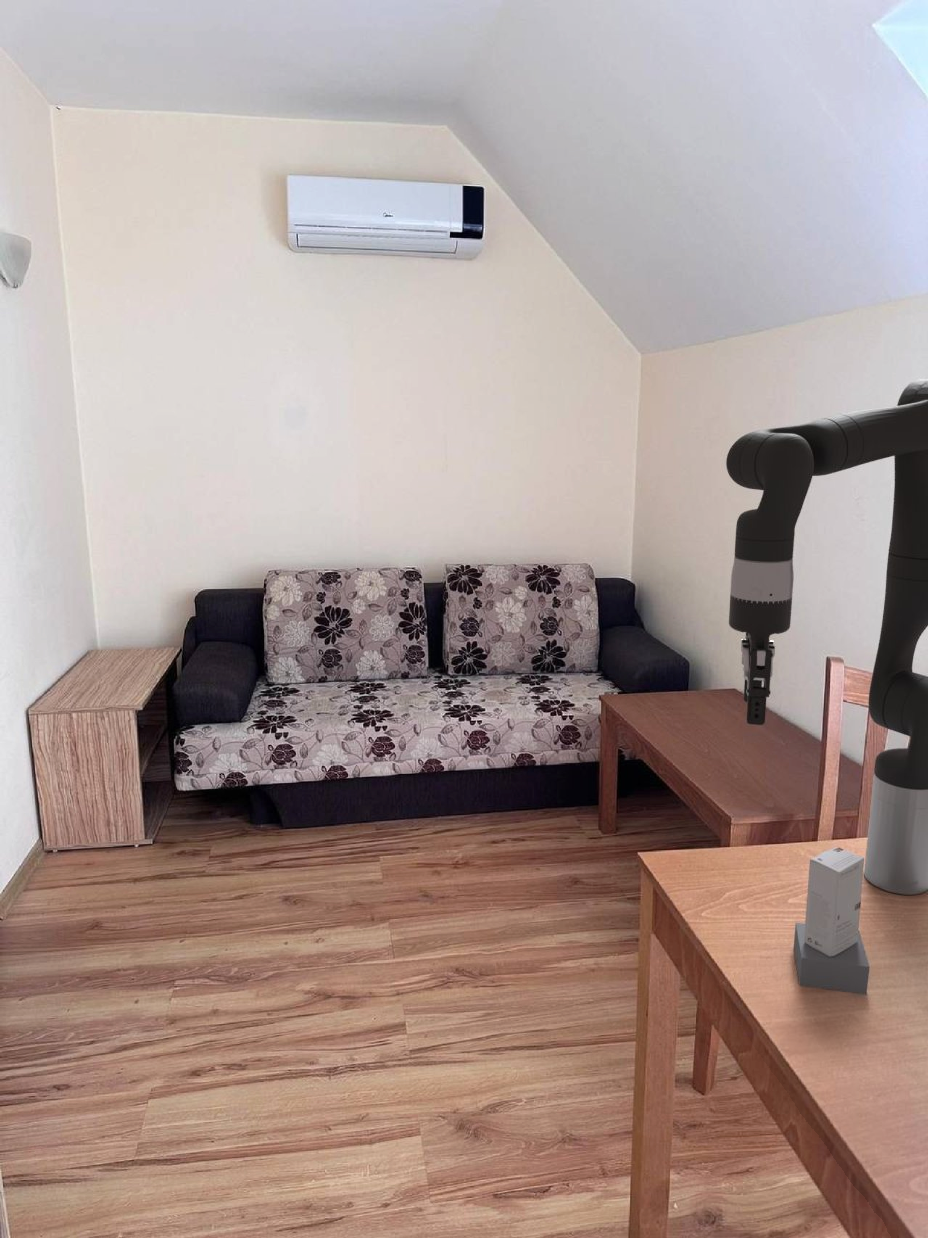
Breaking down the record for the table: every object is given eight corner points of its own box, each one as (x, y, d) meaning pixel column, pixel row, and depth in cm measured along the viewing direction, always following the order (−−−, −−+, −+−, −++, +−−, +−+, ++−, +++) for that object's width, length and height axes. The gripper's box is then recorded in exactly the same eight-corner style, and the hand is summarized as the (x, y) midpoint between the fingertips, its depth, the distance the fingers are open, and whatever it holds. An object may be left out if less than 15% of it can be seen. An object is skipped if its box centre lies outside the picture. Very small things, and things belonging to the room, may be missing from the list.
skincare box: (832, 959, 112) (840, 873, 109) (801, 942, 116) (808, 859, 113) (859, 941, 116) (868, 858, 113) (828, 925, 119) (835, 844, 116)
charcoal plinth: (793, 948, 121) (795, 922, 120) (856, 956, 119) (859, 930, 118) (799, 985, 114) (801, 958, 113) (866, 994, 112) (869, 967, 111)
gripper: (797, 606, 105) (788, 734, 109) (787, 582, 118) (779, 696, 122) (732, 604, 107) (725, 729, 111) (729, 580, 120) (723, 693, 124)
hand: (753, 712), depth 117 cm, fingers open, 8 cm apart
